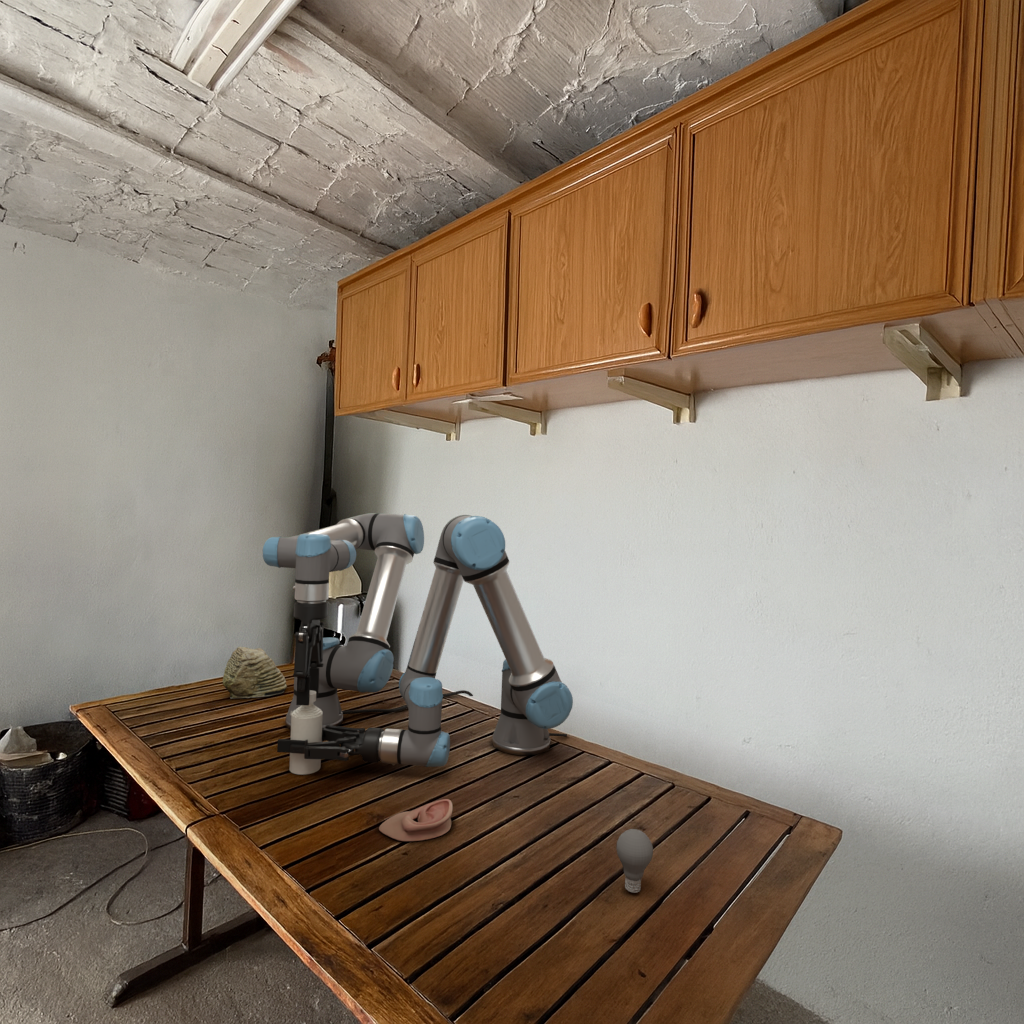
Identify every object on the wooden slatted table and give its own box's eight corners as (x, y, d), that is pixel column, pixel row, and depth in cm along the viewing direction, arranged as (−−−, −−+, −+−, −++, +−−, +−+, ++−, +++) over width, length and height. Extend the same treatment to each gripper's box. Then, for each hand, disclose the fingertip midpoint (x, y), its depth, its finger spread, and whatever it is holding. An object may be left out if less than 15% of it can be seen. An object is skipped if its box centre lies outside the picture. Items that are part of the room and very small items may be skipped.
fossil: (218, 695, 195) (220, 647, 195) (278, 685, 208) (279, 640, 207) (228, 703, 189) (230, 653, 188) (289, 692, 201) (290, 645, 201)
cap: (319, 700, 148) (319, 692, 148) (306, 704, 144) (307, 696, 144) (308, 697, 150) (308, 689, 149) (295, 701, 146) (296, 692, 146)
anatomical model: (372, 815, 119) (396, 788, 130) (371, 836, 119) (395, 808, 130) (440, 826, 116) (458, 797, 127) (439, 847, 116) (457, 817, 127)
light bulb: (610, 879, 108) (613, 822, 108) (644, 879, 109) (647, 822, 109) (619, 902, 102) (622, 840, 102) (655, 901, 103) (658, 840, 103)
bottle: (291, 762, 150) (294, 691, 150) (321, 761, 151) (324, 690, 151) (287, 775, 143) (290, 700, 143) (319, 773, 145) (322, 699, 144)
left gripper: (308, 594, 156) (304, 687, 156) (280, 607, 137) (276, 713, 137) (338, 595, 156) (335, 688, 156) (314, 608, 137) (310, 714, 137)
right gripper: (369, 780, 136) (265, 773, 138) (392, 745, 156) (301, 739, 157) (370, 746, 136) (266, 739, 137) (393, 715, 156) (302, 709, 157)
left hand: (307, 699), depth 147 cm, fingers open, 6 cm apart
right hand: (285, 739), depth 147 cm, fingers closed on bottle, 7 cm apart
